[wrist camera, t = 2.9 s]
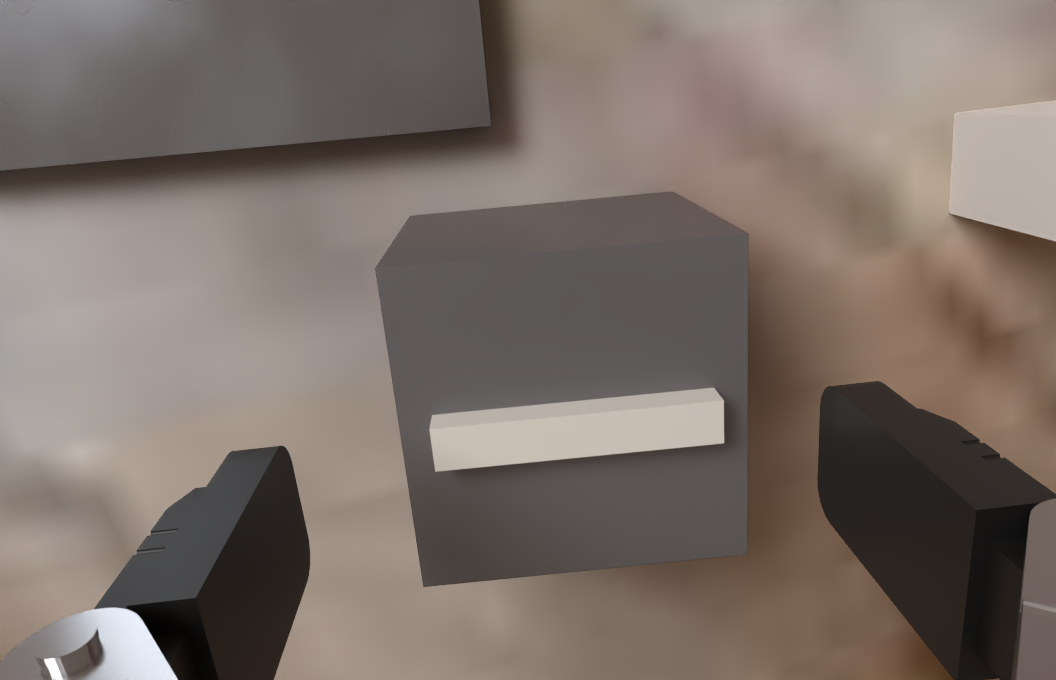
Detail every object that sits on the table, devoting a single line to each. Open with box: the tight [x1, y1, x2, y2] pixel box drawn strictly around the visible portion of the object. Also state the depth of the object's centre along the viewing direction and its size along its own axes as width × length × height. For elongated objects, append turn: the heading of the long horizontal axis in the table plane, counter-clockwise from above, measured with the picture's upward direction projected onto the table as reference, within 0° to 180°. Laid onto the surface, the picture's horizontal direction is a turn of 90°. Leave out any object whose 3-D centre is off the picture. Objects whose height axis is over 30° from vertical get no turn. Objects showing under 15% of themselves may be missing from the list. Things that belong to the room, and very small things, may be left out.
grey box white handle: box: [375, 192, 748, 587], centre depth 16 cm, size 6×6×6 cm
